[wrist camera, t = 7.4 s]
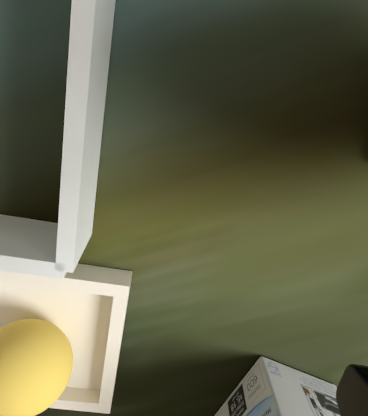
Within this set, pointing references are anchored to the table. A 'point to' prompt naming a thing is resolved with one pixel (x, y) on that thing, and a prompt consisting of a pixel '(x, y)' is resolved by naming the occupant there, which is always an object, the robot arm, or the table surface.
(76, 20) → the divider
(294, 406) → the light bulb box
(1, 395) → the ball
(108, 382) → the tray
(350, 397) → the robot arm
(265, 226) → the table surface
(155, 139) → the table surface
